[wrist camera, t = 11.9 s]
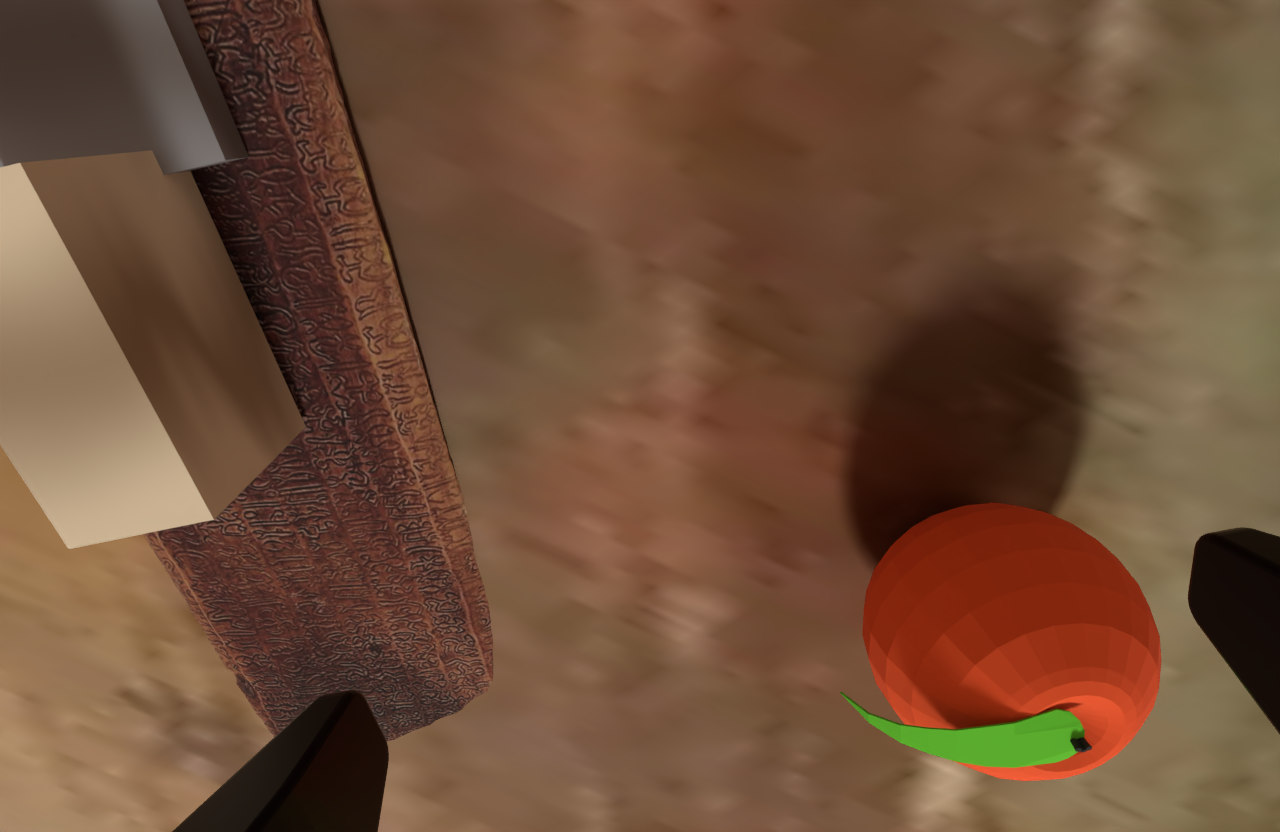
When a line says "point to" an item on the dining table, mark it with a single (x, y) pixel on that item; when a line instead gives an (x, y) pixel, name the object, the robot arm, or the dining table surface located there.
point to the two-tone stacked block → (123, 276)
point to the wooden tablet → (327, 417)
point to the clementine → (1010, 643)
